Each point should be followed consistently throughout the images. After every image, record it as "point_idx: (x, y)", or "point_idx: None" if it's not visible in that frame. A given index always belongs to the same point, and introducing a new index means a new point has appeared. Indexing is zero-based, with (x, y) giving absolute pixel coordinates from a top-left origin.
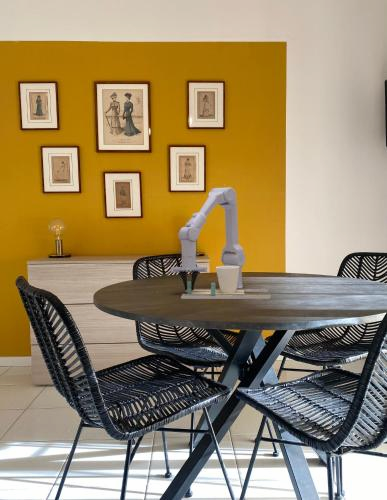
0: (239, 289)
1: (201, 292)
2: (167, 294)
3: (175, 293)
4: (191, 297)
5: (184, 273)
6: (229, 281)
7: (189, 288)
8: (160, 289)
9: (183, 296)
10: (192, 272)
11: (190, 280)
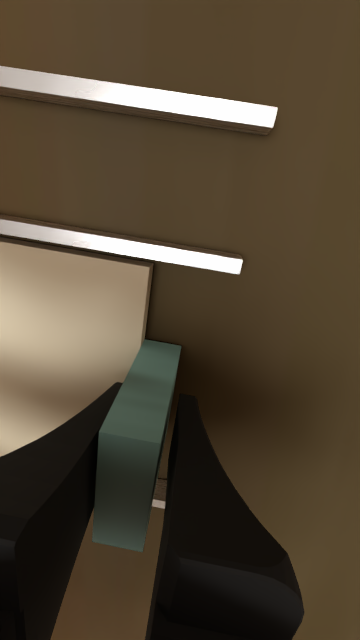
0: None
1: (44, 354)
2: (356, 423)
3: (275, 451)
4: (145, 95)
5: (188, 625)
6: None
7: (148, 374)
8: (356, 607)
9: (245, 106)
10: (3, 621)
11: (110, 481)
